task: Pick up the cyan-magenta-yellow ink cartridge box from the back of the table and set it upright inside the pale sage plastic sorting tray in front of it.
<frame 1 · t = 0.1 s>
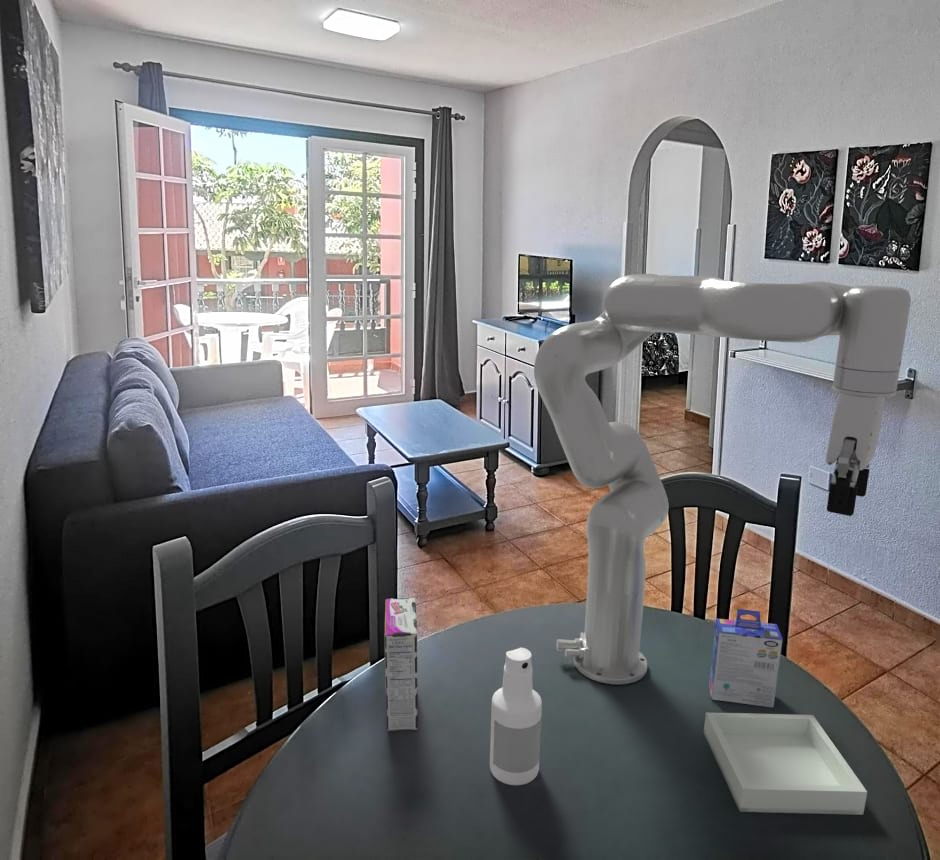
hand: (846, 503, 103), 37 cm above the table, tool pointing down, fingers open, 9 cm apart
sorting tray: (777, 770, 104), on the table
candy bar box: (401, 710, 116), on the table
spray bottle: (514, 770, 104), on the table
ink cartridge box: (740, 696, 122), on the table
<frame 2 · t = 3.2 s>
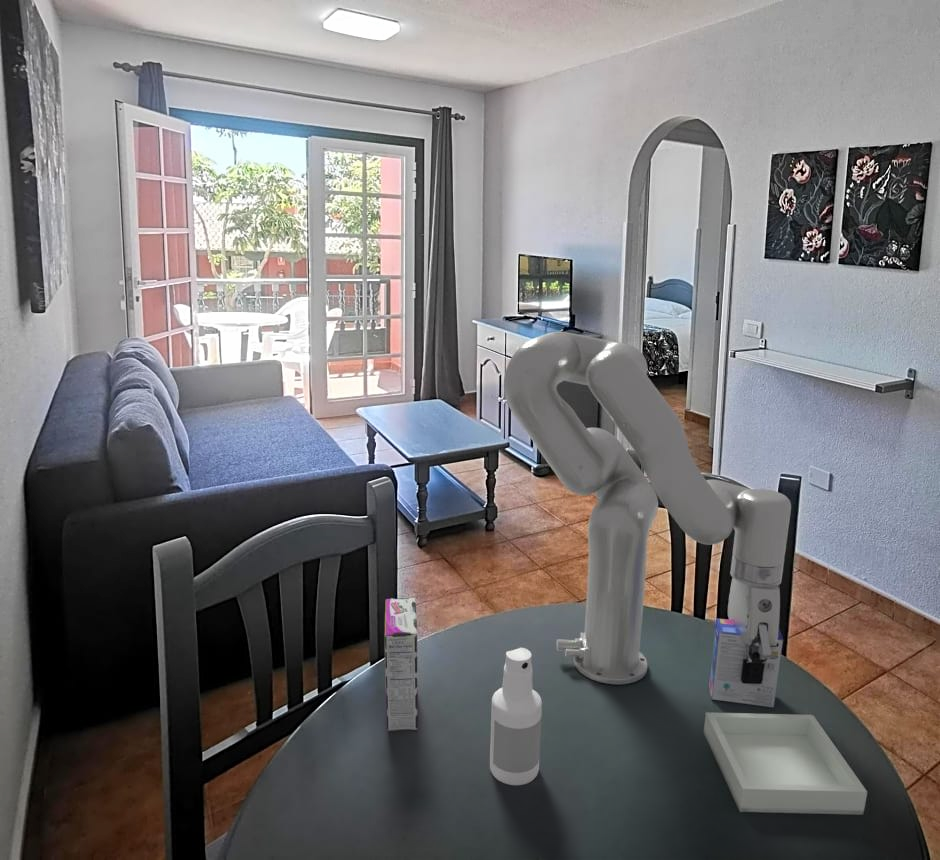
hand: (743, 669, 121), 5 cm above the table, tool pointing down, fingers closed on ink cartridge box, 6 cm apart
ink cartridge box: (740, 695, 122), on the table, touching gripper
everything else where it was.
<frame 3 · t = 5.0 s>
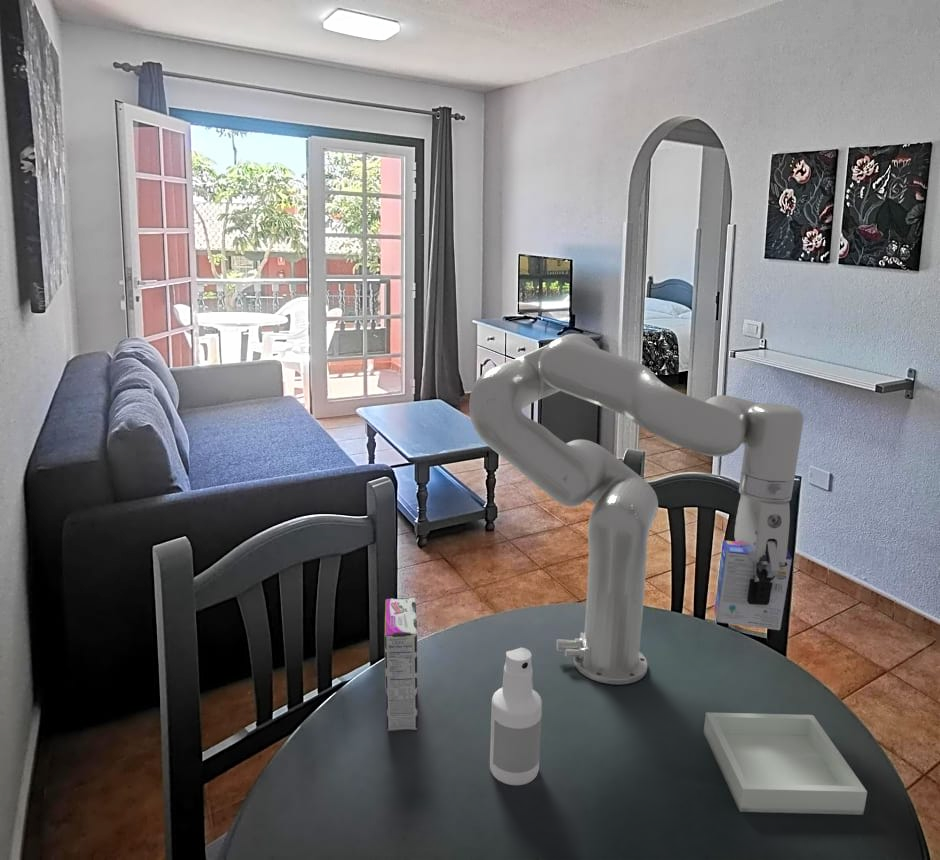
hand: (750, 592, 118), 18 cm above the table, tool pointing down, fingers closed on ink cartridge box, 6 cm apart
ink cartridge box: (746, 620, 119), point 13 cm above the table, touching gripper
everything else where it was.
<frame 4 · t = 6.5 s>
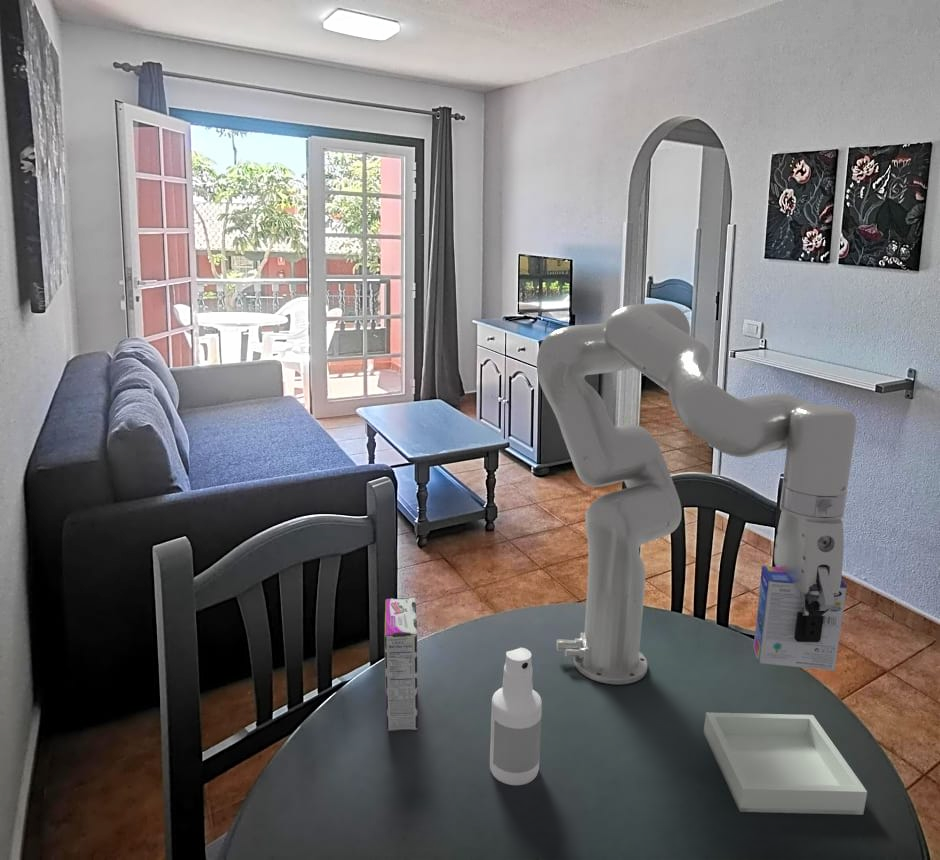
hand: (795, 626, 100), 22 cm above the table, tool pointing down, fingers closed on ink cartridge box, 6 cm apart
ink cartridge box: (792, 658, 101), point 17 cm above the table, touching gripper
everything else where it was.
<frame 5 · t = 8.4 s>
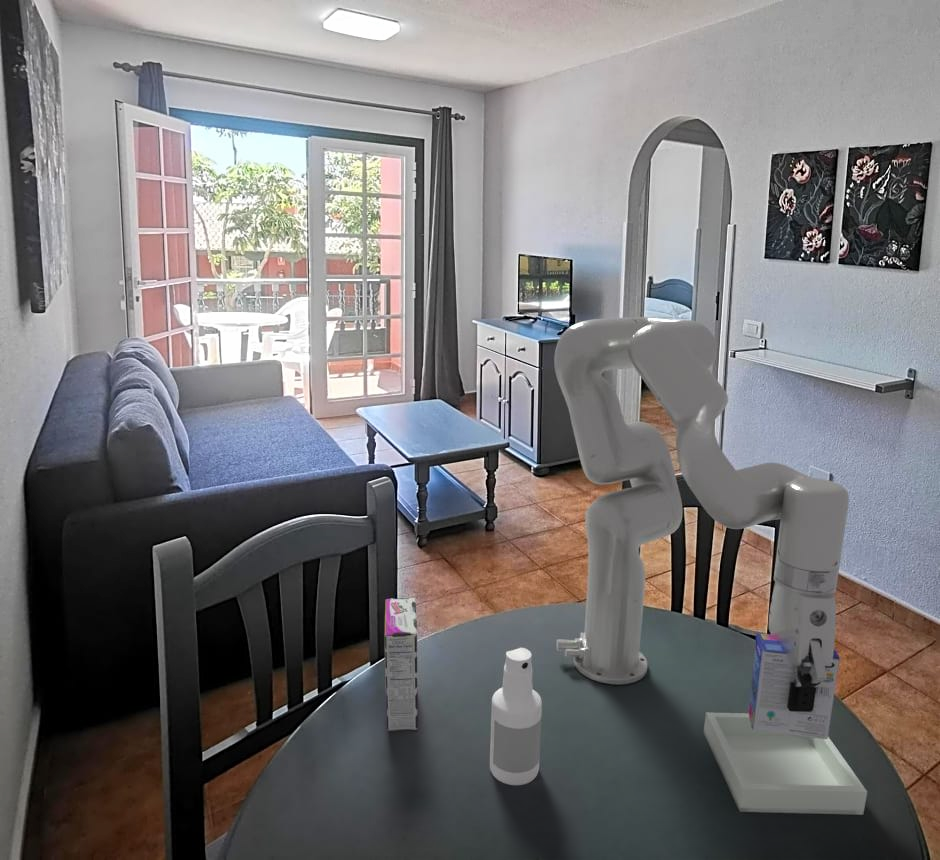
hand: (789, 694, 101), 12 cm above the table, tool pointing down, fingers closed on ink cartridge box, 6 cm apart
ink cartridge box: (786, 725, 102), point 7 cm above the table, touching gripper
everything else where it was.
when the fingers open (6 cm above the table, at t = 10.0 s): ink cartridge box drops 1 cm, resting on sorting tray.
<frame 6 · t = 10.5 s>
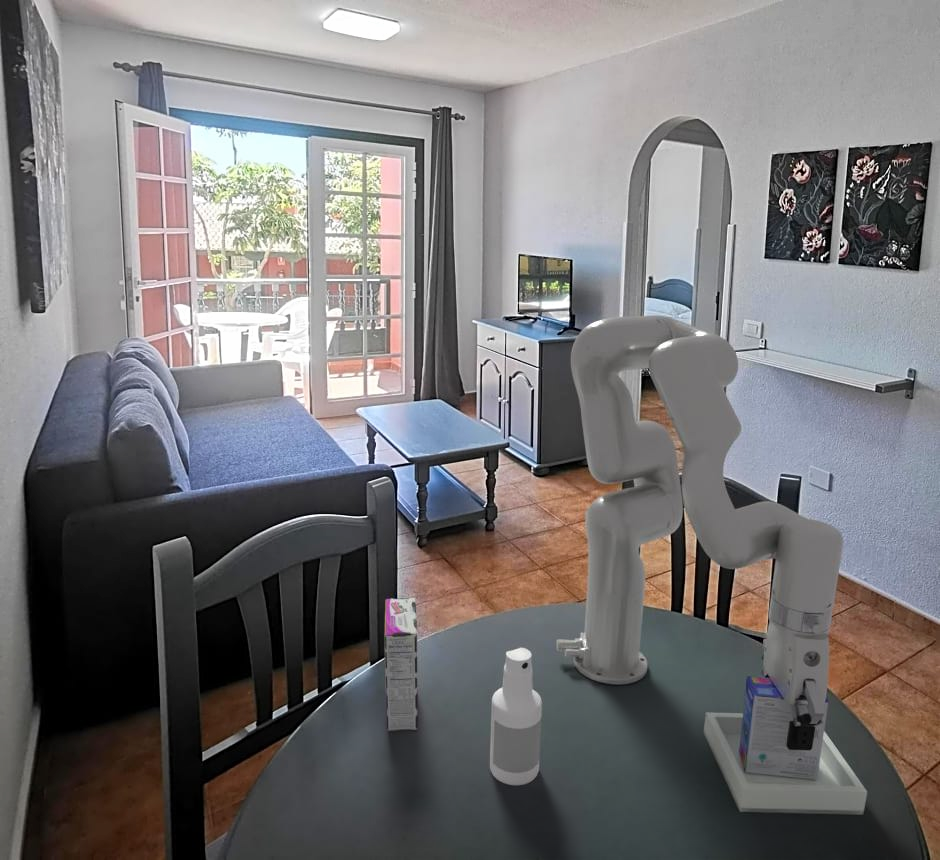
hand: (783, 725, 103), 7 cm above the table, tool pointing down, fingers open, 9 cm apart
ink cartridge box: (776, 765, 105), resting on sorting tray
everything else where it was.
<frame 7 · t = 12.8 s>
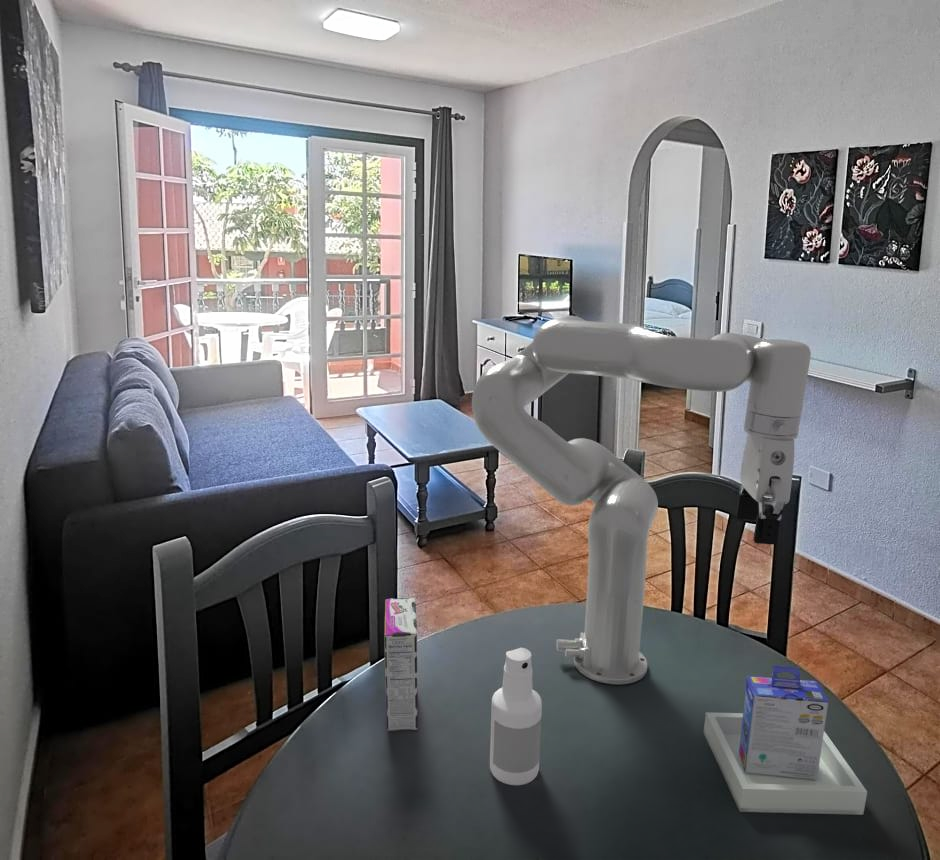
hand: (755, 530, 115), 29 cm above the table, tool pointing down, fingers open, 9 cm apart
nothing on the table moved.
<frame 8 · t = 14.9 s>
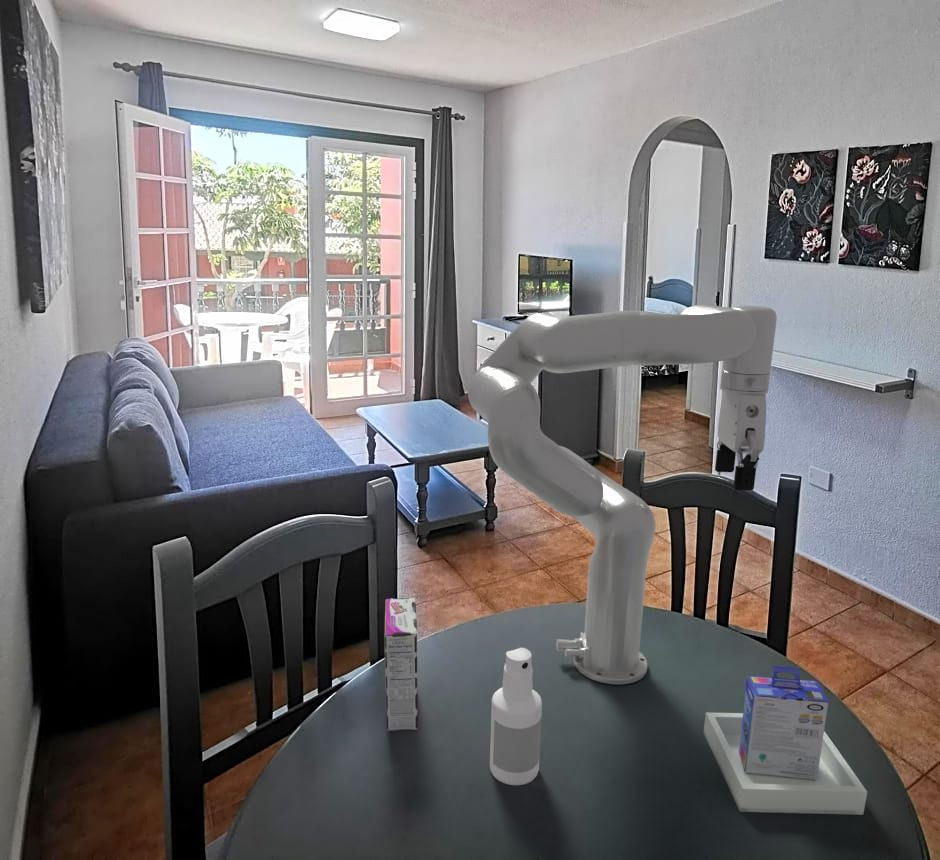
hand: (733, 480, 127), 32 cm above the table, tool pointing down, fingers open, 9 cm apart
nothing on the table moved.
at the end: ink cartridge box 0.5 cm off-centre on the sorting tray, point 0.4 cm above the sorting tray's base; ink cartridge box tilted 0°; the gripper is holding nothing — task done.
